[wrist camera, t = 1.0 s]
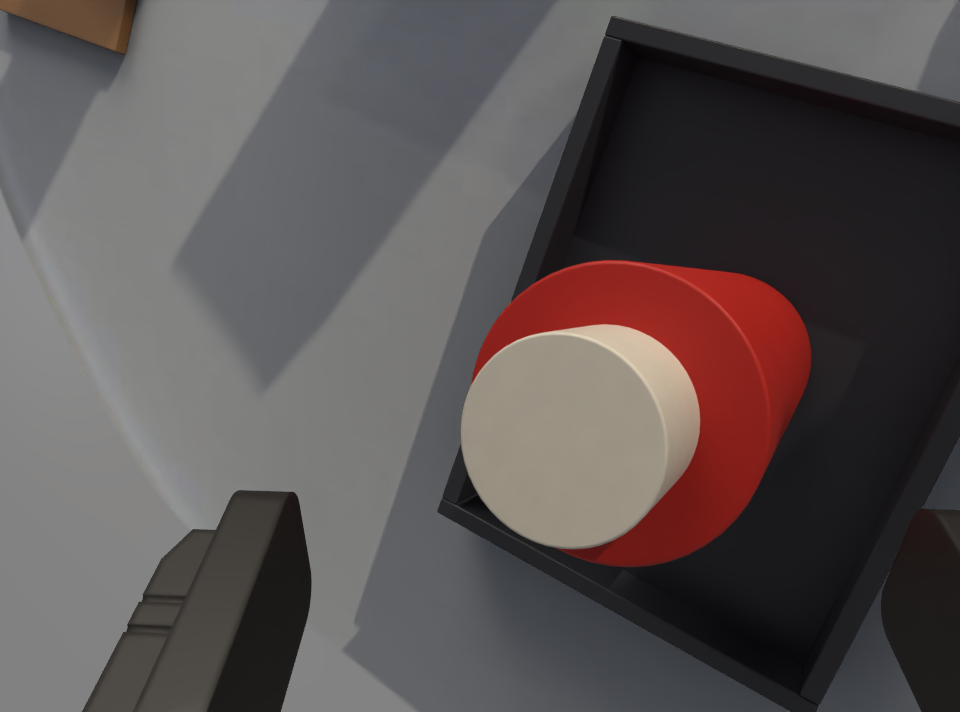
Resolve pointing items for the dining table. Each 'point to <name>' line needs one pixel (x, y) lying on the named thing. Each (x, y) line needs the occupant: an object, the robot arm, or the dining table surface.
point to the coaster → (81, 18)
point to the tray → (816, 297)
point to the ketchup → (632, 407)
